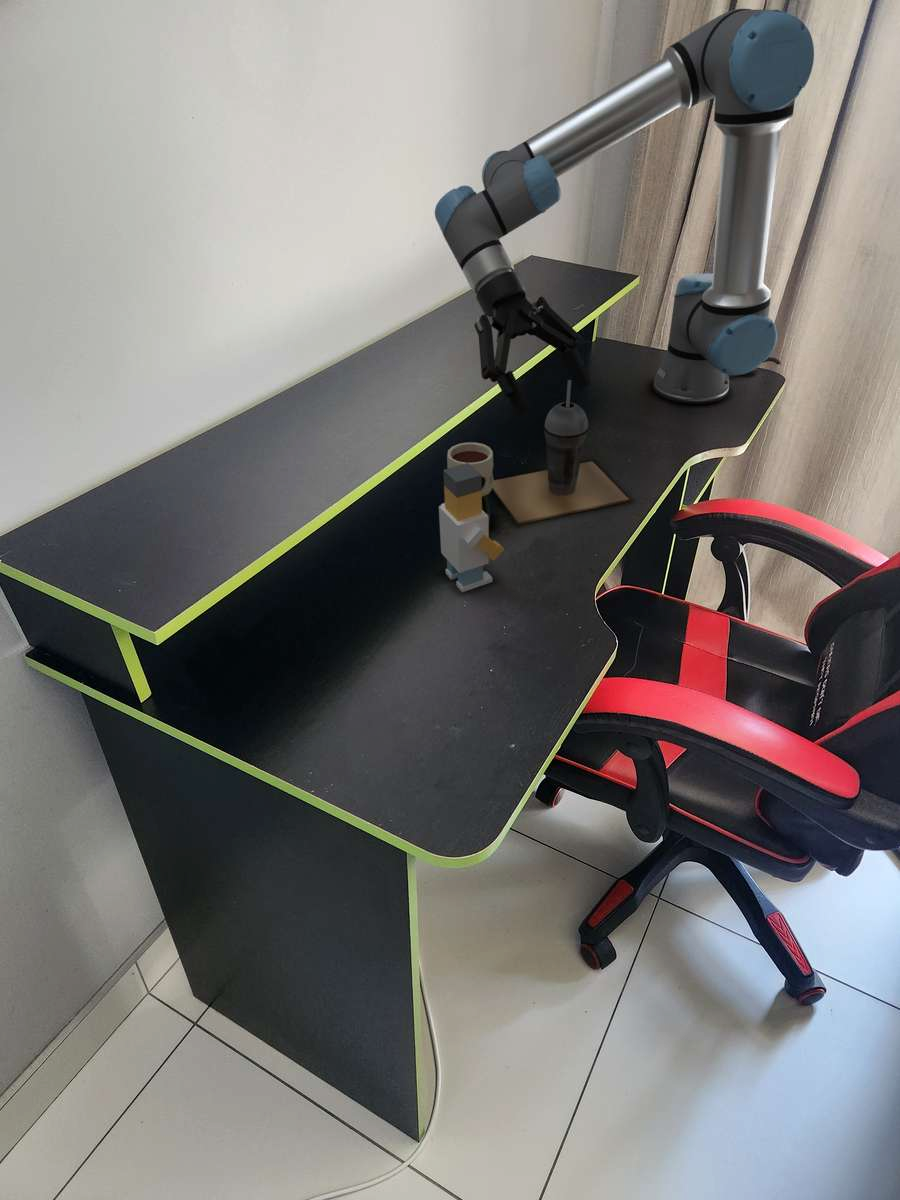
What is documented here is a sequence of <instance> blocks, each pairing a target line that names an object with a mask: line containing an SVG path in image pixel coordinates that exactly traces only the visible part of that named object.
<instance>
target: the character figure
mask: <svg viewBox="0 0 900 1200" xmlns="http://www.w3.org/2000/svg"><path fill="white" fill-rule="evenodd" d="M442 473H443V491H444V492H443V494H444V502H443V503H441V504H440V505H439V506H438V518H439V540H440V553H441V554H442V556H443V557H444V558H445V559H446V568H445V574H446V576H447V577H448V578H449V579H450V580H451V581H452V580H456V579H457V580H456V581H455V583H456V584H455V585H456V587H457V588H458V590H459V591H460V592H461V593H465V592H467V591H470V590H473V589H475V588H476V589H477V588H478V587H481V586H484V585H487V584H490V583H493V577H492V576H491V574H490V573H489V572H488V571H487V570H485V571H484V566H485V565H488V564H489V563H490V560H491V561H493V562H495V561H496V559H497V558H499V556H500V555H501V554H502V553H503V552H504V551H505V547H504V546H502V545H501V543H499V542H498V541H496V540H495V539H494V540H492V539H491V538H490V537H489V535H490V534H489V533H490V531H489V530H490V529H489V528H490V527H489V526H490V524H489V516H488V515H487V514H486V513H485V512H484V511H483V510H482V482H481V474H480V473H479V472H478V471H476V470H475V469H474V468H473V467H472V466H471V465H470V464H469V463H466V464H463V465H459V466H456V467H452V468H449V469H448V468H445V469H443V471H442Z"/></svg>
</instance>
